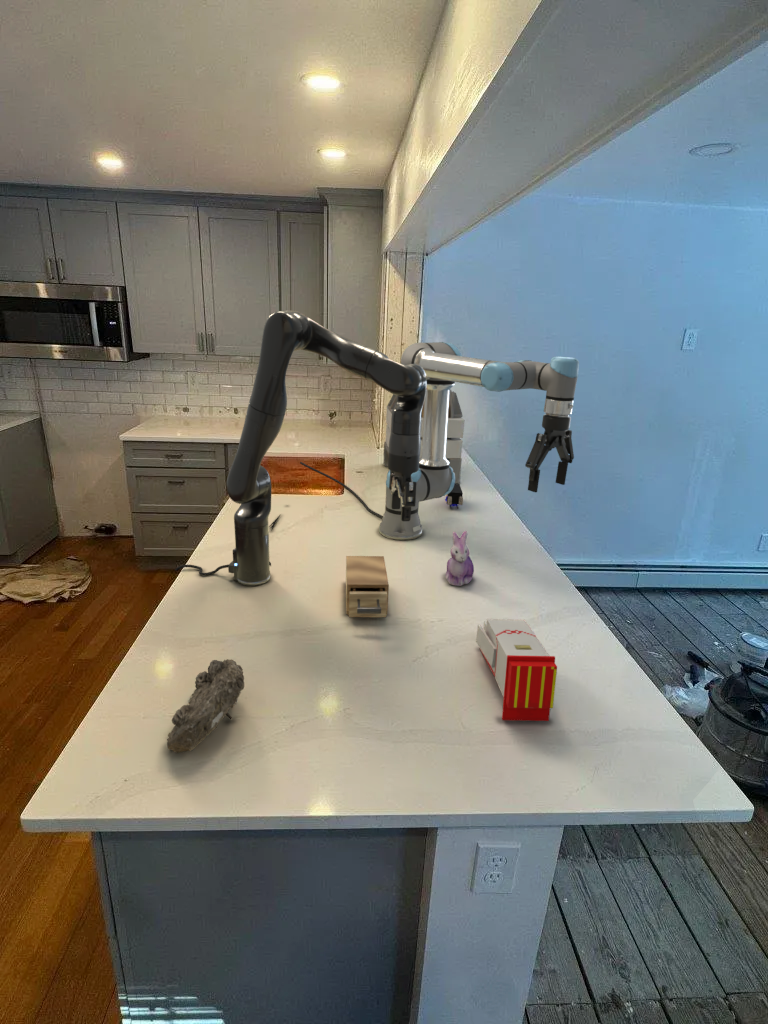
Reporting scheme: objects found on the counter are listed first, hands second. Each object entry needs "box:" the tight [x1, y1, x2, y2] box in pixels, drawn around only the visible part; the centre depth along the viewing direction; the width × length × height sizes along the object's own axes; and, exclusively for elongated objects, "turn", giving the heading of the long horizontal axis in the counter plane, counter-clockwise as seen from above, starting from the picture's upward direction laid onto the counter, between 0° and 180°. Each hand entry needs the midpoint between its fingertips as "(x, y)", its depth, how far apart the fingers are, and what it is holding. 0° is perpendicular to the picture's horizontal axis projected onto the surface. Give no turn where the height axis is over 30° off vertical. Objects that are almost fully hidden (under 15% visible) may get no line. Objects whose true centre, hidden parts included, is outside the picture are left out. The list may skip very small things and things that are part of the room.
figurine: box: [445, 530, 475, 587], centre depth 165 cm, size 9×10×15 cm
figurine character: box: [444, 483, 464, 510], centre depth 231 cm, size 7×8×15 cm
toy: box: [475, 618, 558, 722], centre depth 122 cm, size 12×13×30 cm
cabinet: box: [345, 555, 390, 616], centre depth 153 cm, size 17×11×9 cm, turn 4°
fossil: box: [166, 658, 245, 754], centre depth 106 cm, size 22×10×15 cm
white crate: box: [383, 389, 465, 484], centre depth 268 cm, size 34×33×41 cm
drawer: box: [348, 588, 387, 618], centre depth 147 cm, size 22×9×7 cm, turn 4°
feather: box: [268, 504, 288, 532], centre depth 209 cm, size 2×28×2 cm
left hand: (400, 514), depth 140 cm, fingers open, 8 cm apart
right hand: (546, 487), depth 165 cm, fingers open, 13 cm apart
